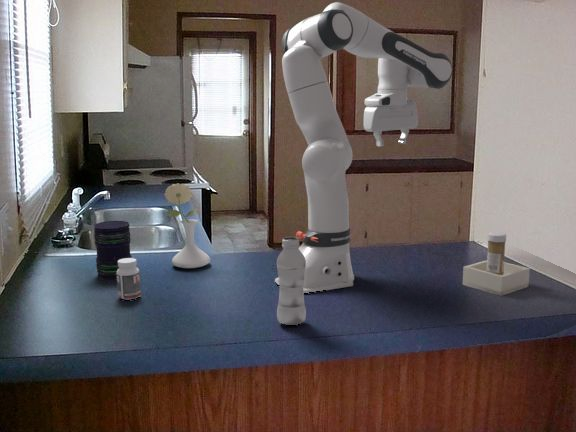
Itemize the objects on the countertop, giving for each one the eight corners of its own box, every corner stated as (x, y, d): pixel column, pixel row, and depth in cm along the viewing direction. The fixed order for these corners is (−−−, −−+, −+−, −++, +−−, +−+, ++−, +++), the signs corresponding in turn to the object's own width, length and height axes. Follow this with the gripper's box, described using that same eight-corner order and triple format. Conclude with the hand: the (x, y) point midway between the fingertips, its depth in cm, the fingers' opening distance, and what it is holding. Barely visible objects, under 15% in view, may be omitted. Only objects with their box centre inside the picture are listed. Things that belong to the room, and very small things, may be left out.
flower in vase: (215, 261, 205) (212, 180, 199) (204, 272, 194) (200, 186, 188) (174, 260, 207) (170, 179, 202) (161, 270, 196) (156, 186, 191)
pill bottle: (145, 295, 174) (143, 258, 172) (133, 302, 169) (131, 264, 167) (126, 293, 176) (123, 256, 174) (113, 300, 171) (111, 262, 169)
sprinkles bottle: (507, 283, 177) (510, 233, 174) (495, 286, 174) (498, 236, 171) (493, 279, 180) (495, 230, 178) (481, 282, 178) (484, 232, 175)
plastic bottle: (275, 319, 156) (274, 235, 151) (304, 318, 156) (304, 234, 152) (277, 329, 149) (276, 242, 145) (308, 328, 150) (307, 241, 146)
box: (500, 296, 170) (501, 277, 169) (462, 284, 179) (463, 266, 178) (528, 286, 177) (529, 268, 176) (490, 276, 186) (491, 258, 185)
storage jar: (100, 282, 185) (96, 229, 182) (94, 273, 194) (90, 222, 191) (136, 277, 189) (132, 226, 186) (129, 268, 198) (126, 219, 195)
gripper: (408, 97, 210) (407, 141, 213) (360, 99, 198) (359, 146, 201) (423, 98, 205) (422, 143, 208) (375, 100, 193) (374, 148, 196)
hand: (391, 145), depth 204 cm, fingers open, 8 cm apart
